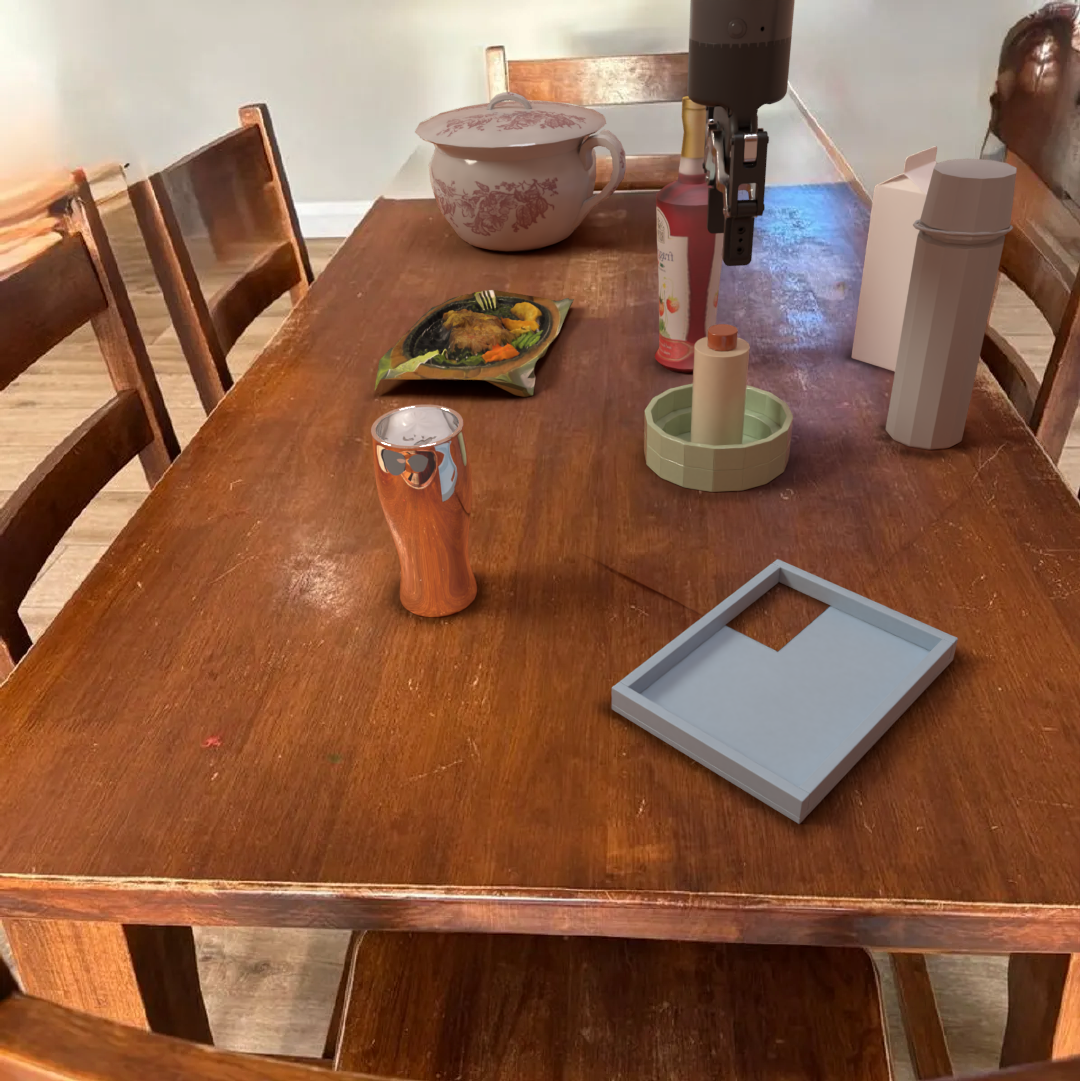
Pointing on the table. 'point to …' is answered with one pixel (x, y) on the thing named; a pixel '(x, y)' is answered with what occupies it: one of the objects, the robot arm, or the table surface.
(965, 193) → the water bottle
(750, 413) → the bowl
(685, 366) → the liquor
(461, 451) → the beer glass
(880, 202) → the milk
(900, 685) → the tray
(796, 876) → the table surface
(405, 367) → the prepared meal
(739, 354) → the bottle
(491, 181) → the chamber pot
